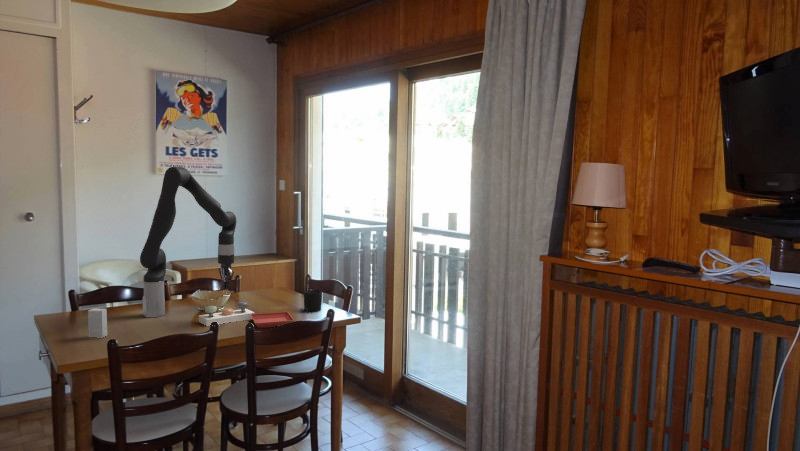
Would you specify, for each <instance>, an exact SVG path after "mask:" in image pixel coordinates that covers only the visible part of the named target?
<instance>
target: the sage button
mask: <svg viewBox="0 0 800 451" xmlns="http://www.w3.org/2000/svg"><path fill="white" fill-rule="evenodd" d="M217 311H218V308H217V306H216V305H209V306H208V305H207V306H205V307H204V312H205V313H207V314H209V317H213V313H217Z"/></svg>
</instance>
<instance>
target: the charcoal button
mask: <svg viewBox="0 0 800 451" xmlns="http://www.w3.org/2000/svg"><path fill="white" fill-rule="evenodd" d="M248 307H249V301H238V302H237V309H241V313H243V312H245V309H248Z"/></svg>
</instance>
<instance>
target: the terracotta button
mask: <svg viewBox="0 0 800 451" xmlns="http://www.w3.org/2000/svg"><path fill="white" fill-rule="evenodd" d="M233 310H234V309H233V308H231V307H225V308H222V309H221V312H222V314H223V315H230V314H233Z"/></svg>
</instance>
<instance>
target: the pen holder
mask: <svg viewBox="0 0 800 451" xmlns="http://www.w3.org/2000/svg"><path fill="white" fill-rule="evenodd" d="M322 296H323V291H322V290H319V289H310V290H309V289H308V291H303V309H304V311H305V312H308V313H317V312H320V311H321V310H322V300H323V299H322Z"/></svg>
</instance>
